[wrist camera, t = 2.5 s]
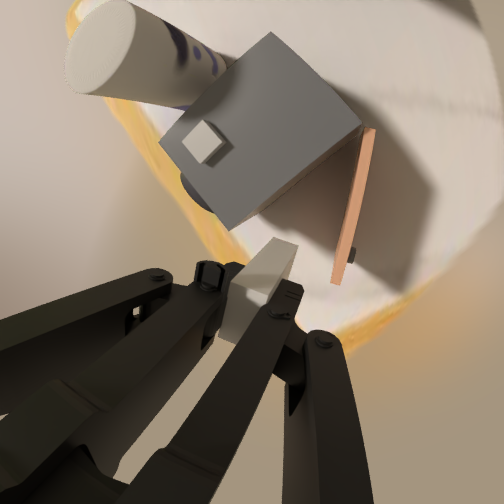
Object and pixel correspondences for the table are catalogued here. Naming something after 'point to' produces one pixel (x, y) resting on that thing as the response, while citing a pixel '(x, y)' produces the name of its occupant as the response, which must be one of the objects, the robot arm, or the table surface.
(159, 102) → the container
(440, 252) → the table surface
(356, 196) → the side door
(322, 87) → the dark gray knobbed box
